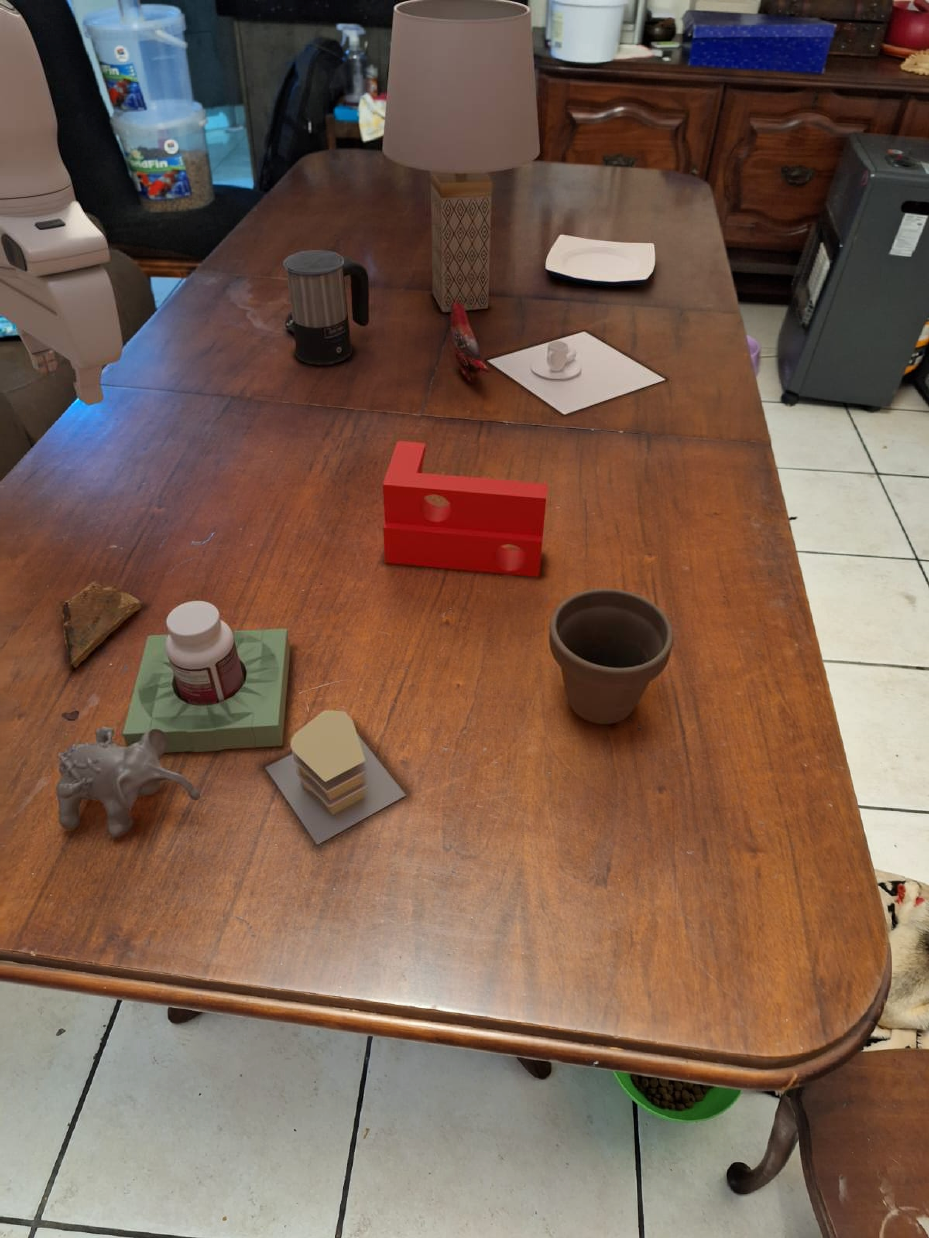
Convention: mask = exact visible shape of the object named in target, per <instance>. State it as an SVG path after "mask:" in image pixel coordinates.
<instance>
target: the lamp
mask: <svg viewBox="0 0 929 1238" xmlns="http://www.w3.org/2000/svg"><path fill="white" fill-rule="evenodd" d="M531 13H532V12H531V8H530V7H529V6H527V5H526V4H523V3H520V2H516V1H512V0H407V1H403V2H400V3H397V4H395V5H394V6H393V16H392V29H391V39H390V40H391V41H390V51H389V52H390V53H389V64H388V77H387V89H386V101H385V111H384V112H385V113H384V114H385V115H384V124H383V136H382V150H381V151H382V152H383V155H384V156H385V157H386V159H389V160H390V161H392V162H393V163H396V164H398V165H400V166H403V167H404V166H405V167H407V168H411V169H415V170H421V171H426V172H427V171H428V172H429V177H430V178H429V182H430V183H431V184H430V201H431V202H430V204H431V205H430V207H431V209H430V210H431V270H432V271H431V274H432V275H431V276H432V278H431V279H432V295H433V297H434V299H435V300H436V302H437V304H438V306H439V309H440V310H441V312H442V313H451V308H452V305H453V304H454V303H455V302H460V303H461V304H462V306H463V308H464V310H465V312H466V311H474V310H477V311H478V310H486V309H488V308H489V293H490V291H489V289H490V259H491V257H490V255H491V226H492V225H491V223H492V222H491V221H492V195H493V185H494V184H493V182H494V181H493V180H492V178H491V177H490V176H489V175H488V173H493V172H498V171H499V172H500V171H506V170H511V169H515V168H519V167H522V166H525V165H527V164H528V163H531V162H533V161H534V160H535V159H537V158H538V157H539V155H540V153H541V148H540V134H539V117H538V105H537V104H538V103H537V102H538V101H537V90H536V89H537V88H536V75H535V73H536V72H535V60H534V45H533V44H534V43H533V29H532V15H531Z"/></svg>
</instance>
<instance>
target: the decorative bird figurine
mask: <svg viewBox="0 0 929 1238" xmlns="http://www.w3.org/2000/svg"><path fill="white" fill-rule="evenodd" d="M450 329H451V341H452V348H453V351H454V354H455V358H456V360H457V362H458V364H459V367H460V370H461V373H462V374H463V376H464V377H465V378H466V379H467V381H469V383H472V381H471V377H470V374H473V375H476V374H478V373H479V372H480V371H483V372H485V373H490V369H489V368H488V366H487V365H485V363H483V360H482V354H481V352H480V347H479V344H478V342H477V339H476V338H475V334H474V332H473V330H472V328H471V325H470V322H469V319H468V315H467V312H466V311H465V310H464V308H463V306H462V304H461V303H460V302H455V303H454V304H453V305H452V308H451V312H450Z"/></svg>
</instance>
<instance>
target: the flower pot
mask: <svg viewBox="0 0 929 1238" xmlns="http://www.w3.org/2000/svg"><path fill="white" fill-rule="evenodd" d="M548 630H549V634H548V635H549V638H548V640H549V641H548V642H549V644H548V645H549V649H550V653H551V654H552V657H553V659H554V661H555V662H556V663H557V664H558V666H559V667H560V670H561V676H562V681H563V686H564V690H565V694H566V697H567V701H568V704H569V706H570V708H571V710H572V711H573V712H574V713H575V714H576V715H577V716H578V717H580V718H581V719H583V720H585V721H587V722H589V723H593V724H598V725H612V724H615V723H619V722H621V721H623V720H625V719H626V718H627V717H628V716H630V714H631V713H632V712H633V710H634V709H635V707H636V706H637V704H638V703H639V701H640V700H641V698H642V696H643V695H644V693H645V691H646V689H647V688H648V685H649V684H650V682H652V681H653V680H655V679H656V678H657V677H658V676H660V675H661V674H662V673H663V672H664V670H665V669H666V667H667V665H668V662H669V660H670V655H671V652H672V648H673V645H674V637H675V635H674V628H673V624H672V622H671V620H670V618H669V617H668V615H667V614H666V613H665V612H664V611H663V610H662V609H661V608H660V607H659V606H658V605H657V604H656V603H654V602H652V601H651V600H650V599H648V598H645V597H643V596H642V595H639V594H637V593H635V592H634V593H633V592H630V591H626V590H621V589H615V588H594V589H588V590H584V591H580V592H577V593H575V594H573V595H571V596H568V597H567V598H565V599H564V600H563V601H562V602H560V603H559V604H558V605H557V607H555V609H554V610H553V613H552V614H551V617H550V620H549V627H548Z"/></svg>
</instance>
